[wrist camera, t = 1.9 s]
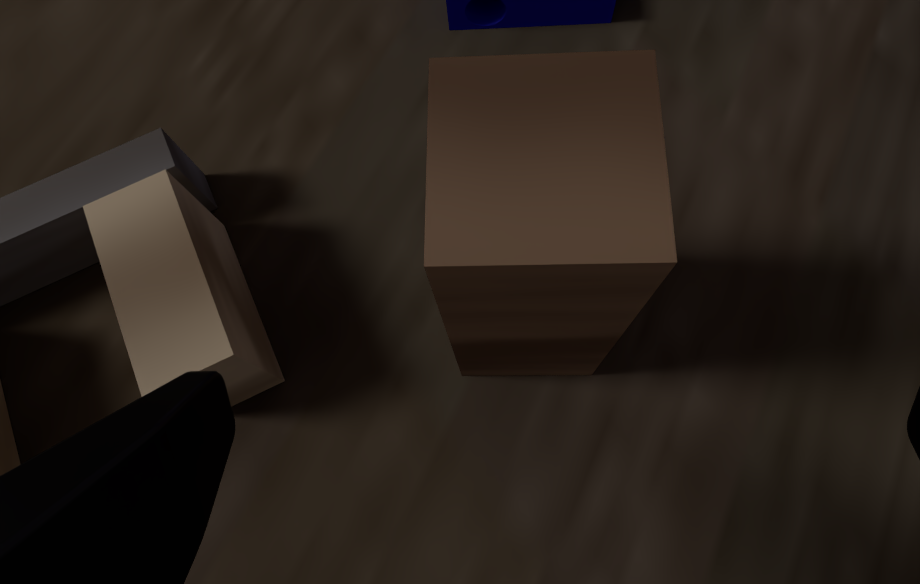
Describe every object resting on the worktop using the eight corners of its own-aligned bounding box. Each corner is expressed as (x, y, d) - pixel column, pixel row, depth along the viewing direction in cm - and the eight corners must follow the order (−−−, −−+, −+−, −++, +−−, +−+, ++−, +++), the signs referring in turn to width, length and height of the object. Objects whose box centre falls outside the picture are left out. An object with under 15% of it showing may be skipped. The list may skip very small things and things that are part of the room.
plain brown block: (591, 375, 19) (677, 262, 10) (461, 375, 20) (423, 266, 10) (584, 253, 21) (655, 49, 11) (462, 256, 21) (429, 58, 11)
